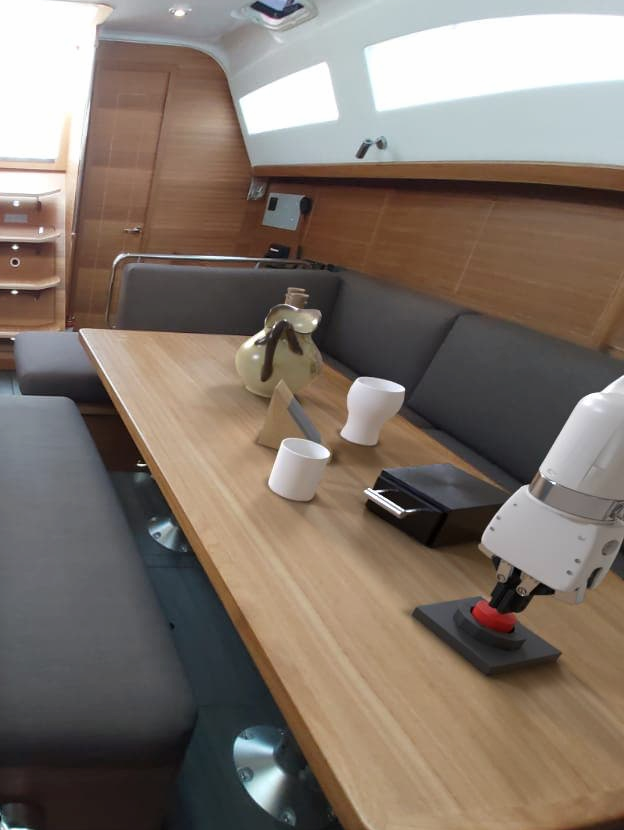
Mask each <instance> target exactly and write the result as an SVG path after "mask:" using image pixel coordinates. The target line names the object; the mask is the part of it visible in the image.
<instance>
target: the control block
mask: <svg viewBox="0 0 624 830" xmlns="http://www.w3.org/2000/svg"><path fill="white" fill-rule="evenodd" d="M479 601H488V599H486V598H484V597H483V596H482V595H479V596H473V597H466V598H461V599H454V600H448V601H443V602H436V603H430V604H424V605H417V606H415V608H414V609H413V612H412V613H411V616H412V617H413V618H415V619H416V620H417V621H418V622H419V623H421V624H422V625H423V626H424V627H425V628H427V630H429V631H431V632H432V634H434V635H435V636H437V637H438V638H439V639H440V640H442V641H443V642H444V643H445V644H446V645H448V647H450V648H451V649H453V650H454V651H455V652H456V653H457V654H458V655H460V656H461V657H462V658H464V659H465V660H466V661H467V662H469V663H470V664H471V665H472V666H474V667H475V668H476V669H477V670H478V671H480V672H481V673H482V674H483V675H485V676H487V677H488V676H492V675H497V674H498V675H499V674H502V673H506V672H511V671H512V672H513V671H516V670H517V671H518V670H521V669H525V668H531V667H536V666H540V665H545V664H550V663H555V662H557V661H558V660H559V658H560V657H561V656H562V655H563V652H562V651H561V650H559V649H558V648H556V647H555V646H553V644H551V643H549V642H548V641H547V640H545V639H543V638H542V637H541V636H539V635H538V634H536V633H534V632H533V631H532V630H531V629H529V628H528V627H526V626H525V625H524V624H522V623H521V621H520V620H518V619H517V623H516V624H515V626H514V627H513V629H512V630H511V631H510V632H509V633H503V632H499V631H495V630H493V629H491V628H489V627H487V626H485V625H483V624H482V623H480V622H479V621H478V620H476V619H475V618H474V617H473V615H472V611H473V609H474V608H475V606H476V605H477V603H478V602H479Z"/></svg>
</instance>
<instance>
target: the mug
mask: <svg viewBox="0 0 624 830" xmlns="http://www.w3.org/2000/svg"><path fill="white" fill-rule="evenodd" d="M329 457H330V452H329V451H328V450H327V449H326V448H325V447H323V446H321V445H319V444H317V443H314V442H312V441H308V440H304V439H298V438H288V439H284V440H283V441H282V443H281V446H280V449H279V450H278V452H277V454H276V458H275V460H274V464H273V467H272V470H271V472H270V476H269V478H268V487H269V489H270V490H271V491H272V492H274V493H275V494H277V495H278V496H280V497H283V498H285V499H288V500H292V501H296V502H308V501H311V500H312V499H313V498H314V496H315V495H316V492H317V489H318V488H319V485H320V482H321V479H322V477H323V475H324V472H325V469H326V467H327V465H328V464H327V462H328V459H329Z"/></svg>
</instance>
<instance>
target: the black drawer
mask: <svg viewBox="0 0 624 830" xmlns="http://www.w3.org/2000/svg"><path fill="white" fill-rule="evenodd" d="M363 496H365V497H366V498H367V500H366V502H365V504H364V507H366V508H367V509H369V510H370V511H372V512H374V513H375V514H376V515H378V516H380V517H381V518H382V519H384V520H385V521H387V522H389V523H390V524H392V525H393V526H395V527H396V528H398V529H399V530H401V531H402V532H403V533H405V534H407V535H408V536H410V537H411V538H412V539H414V540H415V541H417V542H418V543H419V544H421V545H423V546H424V545H425V546H426V544H429V542H430V540H431V538H432V537H433V535H434V533H435V531H436V529H437V527H438V525H439V524H440V522H441V520H442V518H443V516H444V514H445V513H446V512H445V511H444V510H443V509H441V508H439V507H438V506H436V505H434V504H432V503H431V502H429V501H427V500H426V499H424V498H422V497H421V496H419V495H417V494H415V493H414V492H412V491H410V490H409V489H407V488H405V487H404V486H402V485H400V484H398V483H397V482H395V481H393V480H390V479H389V478H387V477H385V476H384V475H381V476H380V475H377V478H376V479H375V481H374V484H373V486H372V488H370V487H369V488H367V489H365V490H364V491H363Z"/></svg>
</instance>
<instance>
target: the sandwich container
mask: <svg viewBox="0 0 624 830" xmlns="http://www.w3.org/2000/svg"><path fill="white" fill-rule="evenodd" d="M288 438H298V439H304V440H308V441H312V442H314V443H317V444H319V445H321V446H323V447H325V448H326V449H327V450H328V451H329V452H330V457H329V459H328V462H327V464H326V465H330V463H331V460H332V458H333V450H332V448H331V447H330V446H329V444H328V442H326V439H324V437H323V436H322V434H321V433H320V432H319V431H318V429H317V427H316V426H315V424H313V422H312V420H311V419H310V417H309V416H308V414H307V413H306V411H305V410H304V409H303V407H302V406H301V404H300V403H299V401H298V400H297V399H296V397H295V396H294V394H292V393H291V391H290V390H289V388H288V387H287V385H286V384H285V382H284V381H283V379H281V381H280V382H279V384H278V385H277V387H276V388H275V390H274V393H273V396H272V398H270V402H269V406H268V409H267V413H266V416H265V418H264V423H263V425H262V428H261V432H260V435H259V438H258V442H257V444H259V445H262V446H265V447H268V448H272V449H274V450H277V451H279V449H280V446H281V443H282V441H283V440H284V439H288Z"/></svg>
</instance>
